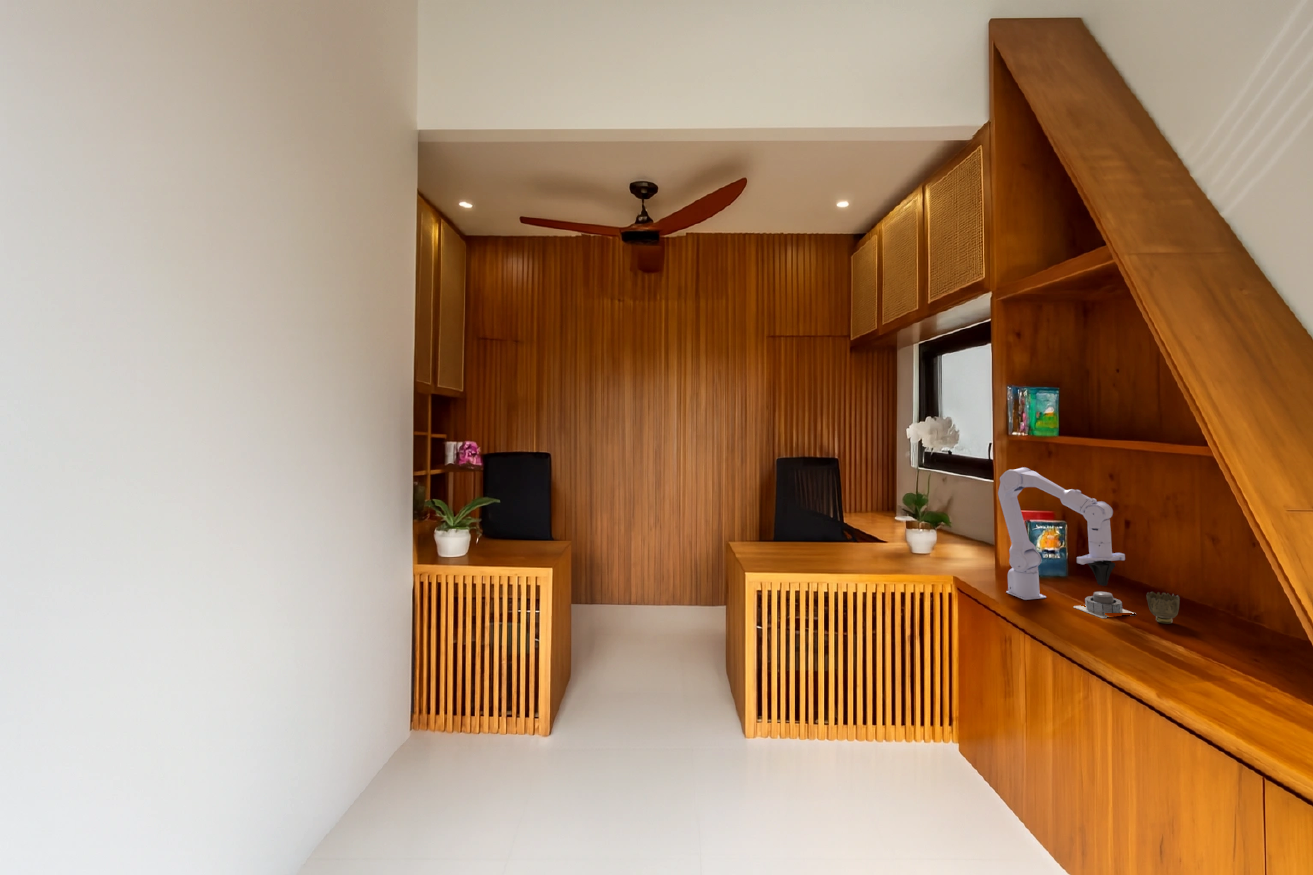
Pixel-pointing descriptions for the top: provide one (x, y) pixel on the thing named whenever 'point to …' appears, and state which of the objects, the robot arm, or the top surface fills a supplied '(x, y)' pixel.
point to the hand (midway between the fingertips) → (1102, 584)
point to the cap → (1103, 597)
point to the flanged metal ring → (1101, 607)
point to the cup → (1163, 606)
